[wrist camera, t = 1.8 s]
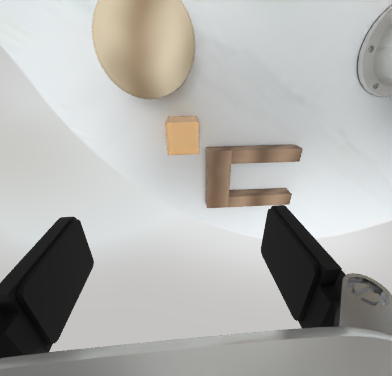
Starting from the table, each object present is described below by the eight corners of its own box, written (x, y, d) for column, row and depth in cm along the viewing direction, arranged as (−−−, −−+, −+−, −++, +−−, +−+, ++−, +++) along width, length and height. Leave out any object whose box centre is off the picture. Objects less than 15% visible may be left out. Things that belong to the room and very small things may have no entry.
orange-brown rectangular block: (195, 116, 32) (198, 122, 27) (196, 143, 34) (198, 153, 29) (168, 116, 32) (165, 122, 27) (170, 144, 34) (168, 154, 29)
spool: (189, 19, 27) (194, -25, 16) (190, 94, 31) (195, 98, 20) (120, 19, 26) (79, -27, 15) (131, 95, 30) (104, 99, 20)
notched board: (294, 144, 36) (302, 148, 33) (283, 197, 41) (289, 204, 38) (206, 147, 35) (208, 151, 32) (205, 201, 40) (207, 208, 38)
